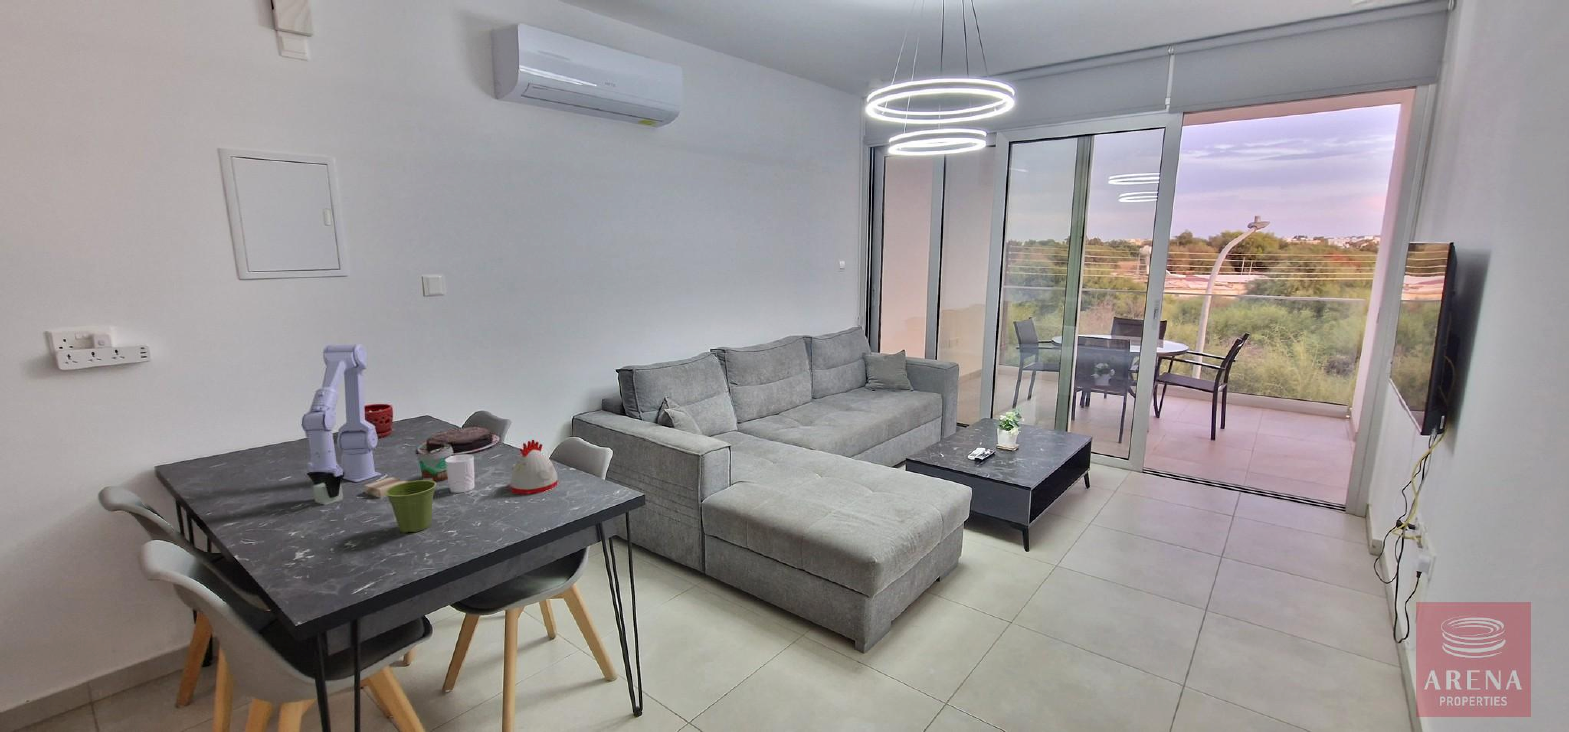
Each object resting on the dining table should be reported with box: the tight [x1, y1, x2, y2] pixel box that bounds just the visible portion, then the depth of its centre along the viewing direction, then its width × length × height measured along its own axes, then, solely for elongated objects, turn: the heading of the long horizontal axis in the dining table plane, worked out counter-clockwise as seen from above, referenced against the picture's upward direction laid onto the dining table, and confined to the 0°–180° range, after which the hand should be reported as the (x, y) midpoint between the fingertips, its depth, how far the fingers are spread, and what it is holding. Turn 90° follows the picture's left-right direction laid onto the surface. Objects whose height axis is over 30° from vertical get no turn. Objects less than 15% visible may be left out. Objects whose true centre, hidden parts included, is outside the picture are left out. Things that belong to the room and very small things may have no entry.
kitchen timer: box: [509, 439, 559, 495], centre depth 195 cm, size 14×14×15 cm
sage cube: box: [313, 483, 344, 506], centre depth 185 cm, size 5×5×5 cm
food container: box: [417, 444, 453, 483], centre depth 202 cm, size 12×6×10 cm, turn 168°
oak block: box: [364, 476, 408, 499], centre depth 192 cm, size 8×8×3 cm
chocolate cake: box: [417, 426, 500, 456], centre depth 237 cm, size 28×28×7 cm
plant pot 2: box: [385, 479, 437, 533], centre depth 166 cm, size 12×12×11 cm
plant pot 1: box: [358, 403, 394, 439], centre depth 250 cm, size 13×13×12 cm
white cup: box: [445, 454, 476, 494], centre depth 193 cm, size 8×8×10 cm
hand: (328, 495), depth 185 cm, fingers closed on sage cube, 5 cm apart
